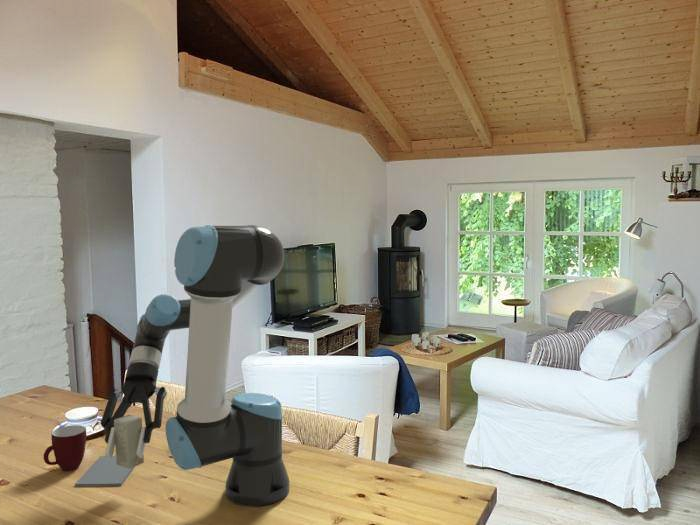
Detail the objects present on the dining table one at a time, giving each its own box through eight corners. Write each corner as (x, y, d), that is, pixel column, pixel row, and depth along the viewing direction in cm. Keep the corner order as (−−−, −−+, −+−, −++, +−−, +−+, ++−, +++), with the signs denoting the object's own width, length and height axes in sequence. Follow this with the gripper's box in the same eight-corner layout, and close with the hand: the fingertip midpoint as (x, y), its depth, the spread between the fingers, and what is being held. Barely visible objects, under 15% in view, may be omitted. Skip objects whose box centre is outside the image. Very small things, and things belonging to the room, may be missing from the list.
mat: (141, 457, 158) (141, 455, 157) (121, 485, 142) (120, 483, 142) (100, 458, 157) (100, 455, 157) (75, 486, 141) (74, 484, 141)
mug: (57, 482, 143) (55, 442, 142) (36, 474, 147) (35, 436, 146) (94, 465, 153) (92, 428, 152) (73, 459, 156) (72, 423, 155)
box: (144, 463, 138) (143, 417, 137) (129, 469, 135) (127, 423, 134) (130, 458, 141) (128, 413, 140) (114, 464, 138) (113, 419, 137)
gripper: (184, 374, 152) (169, 461, 137) (109, 375, 151) (86, 463, 136) (178, 360, 146) (162, 448, 132) (100, 361, 146) (75, 450, 131)
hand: (123, 456), depth 134 cm, fingers closed on box, 6 cm apart
